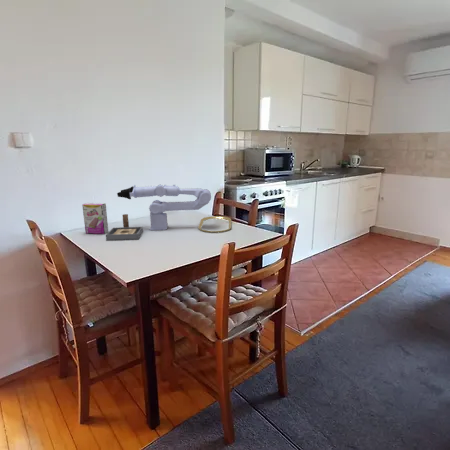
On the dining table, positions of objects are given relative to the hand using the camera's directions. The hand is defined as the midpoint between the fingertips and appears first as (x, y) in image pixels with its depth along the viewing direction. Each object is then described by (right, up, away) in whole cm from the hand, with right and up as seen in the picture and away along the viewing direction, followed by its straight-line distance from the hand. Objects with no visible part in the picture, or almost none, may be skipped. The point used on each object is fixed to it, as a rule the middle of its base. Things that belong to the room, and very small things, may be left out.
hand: (119, 193), depth 181 cm
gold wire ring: (+53, -18, +13) cm, 57 cm away
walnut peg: (+2, -19, +7) cm, 21 cm away
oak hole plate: (+6, -23, -8) cm, 25 cm away
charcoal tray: (+6, -23, -8) cm, 25 cm away
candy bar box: (-12, -22, -1) cm, 25 cm away
